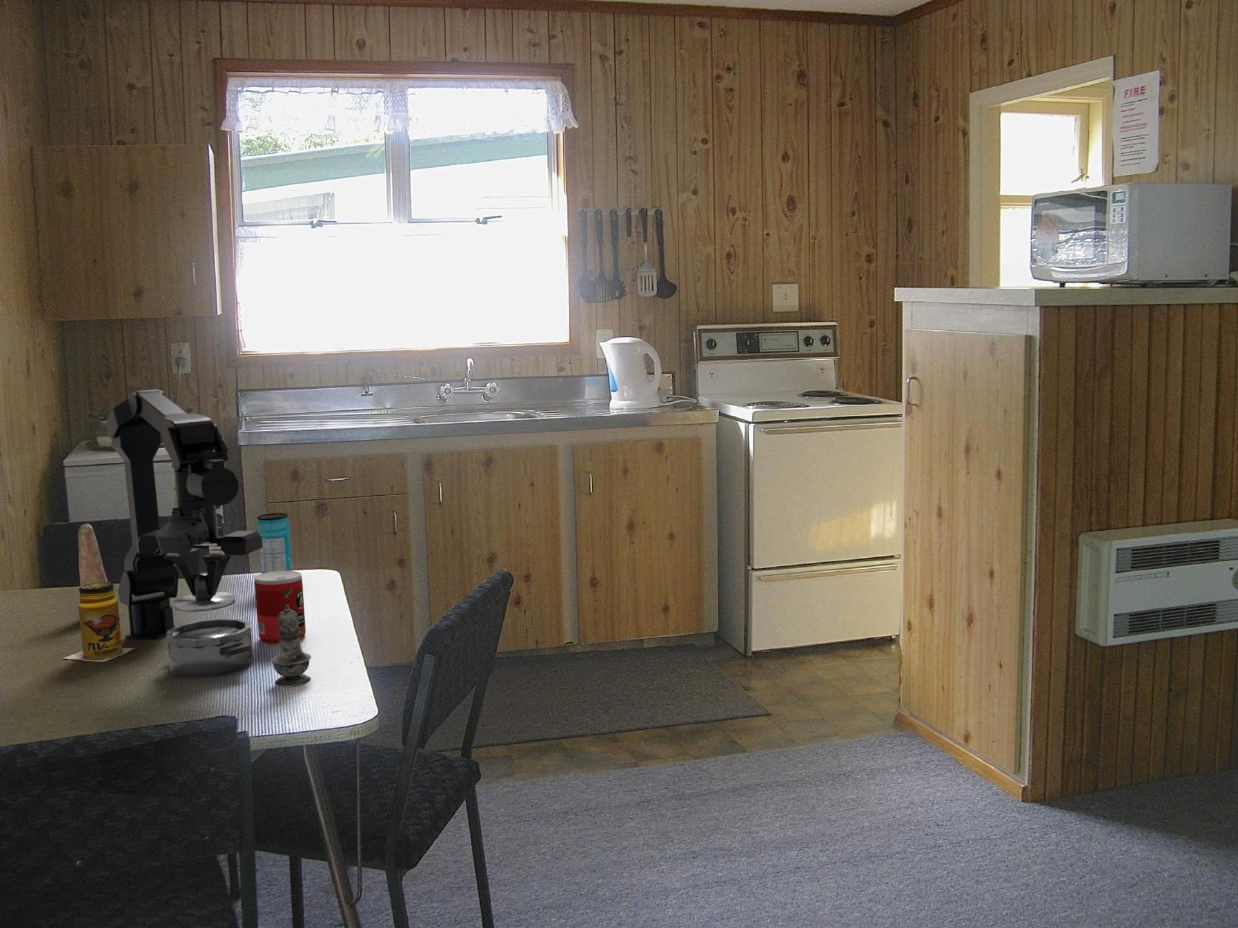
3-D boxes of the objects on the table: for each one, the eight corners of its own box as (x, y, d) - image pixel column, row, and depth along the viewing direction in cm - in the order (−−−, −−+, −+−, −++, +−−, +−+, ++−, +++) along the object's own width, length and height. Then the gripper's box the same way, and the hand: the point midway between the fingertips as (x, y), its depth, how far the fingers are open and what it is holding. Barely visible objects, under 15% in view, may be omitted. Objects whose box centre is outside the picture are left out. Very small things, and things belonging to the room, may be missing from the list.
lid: (161, 610, 191) (158, 580, 190) (195, 596, 200) (192, 567, 199) (214, 612, 189) (211, 582, 188) (246, 597, 197) (243, 568, 197)
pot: (147, 665, 197) (144, 629, 196) (218, 646, 206) (216, 612, 205) (204, 686, 185) (201, 647, 184) (277, 665, 194) (274, 628, 194)
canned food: (294, 645, 206) (289, 581, 204) (250, 644, 207) (245, 580, 206) (314, 632, 213) (309, 570, 212) (271, 631, 215) (267, 570, 213)
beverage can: (299, 587, 247) (294, 514, 245) (277, 594, 242) (271, 519, 240) (278, 584, 250) (273, 512, 248) (256, 591, 245) (250, 517, 243)
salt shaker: (276, 676, 189) (271, 600, 187) (315, 674, 189) (310, 598, 188) (269, 688, 183) (263, 610, 181) (309, 686, 184) (303, 608, 182)
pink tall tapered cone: (114, 614, 233) (80, 622, 229) (98, 521, 232) (63, 527, 229) (122, 616, 228) (88, 623, 224) (106, 520, 227) (71, 526, 224)
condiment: (105, 662, 200) (98, 590, 198) (62, 659, 202) (55, 588, 201) (135, 649, 207) (128, 580, 205) (93, 646, 209) (87, 578, 207)
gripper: (111, 507, 186) (120, 607, 188) (222, 508, 182) (231, 610, 184) (154, 494, 197) (162, 589, 199) (260, 495, 193) (267, 592, 195)
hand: (204, 595), depth 194 cm, fingers closed on lid, 3 cm apart
